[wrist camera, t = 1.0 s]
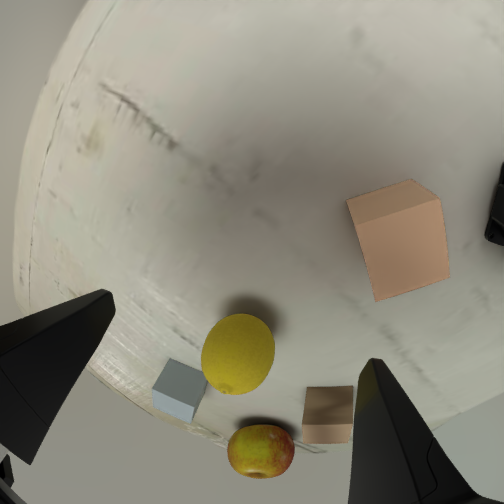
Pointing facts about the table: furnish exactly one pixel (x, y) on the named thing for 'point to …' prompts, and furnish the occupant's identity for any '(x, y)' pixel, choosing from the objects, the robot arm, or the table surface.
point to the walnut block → (328, 415)
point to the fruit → (260, 451)
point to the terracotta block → (401, 238)
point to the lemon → (238, 354)
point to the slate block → (179, 390)
